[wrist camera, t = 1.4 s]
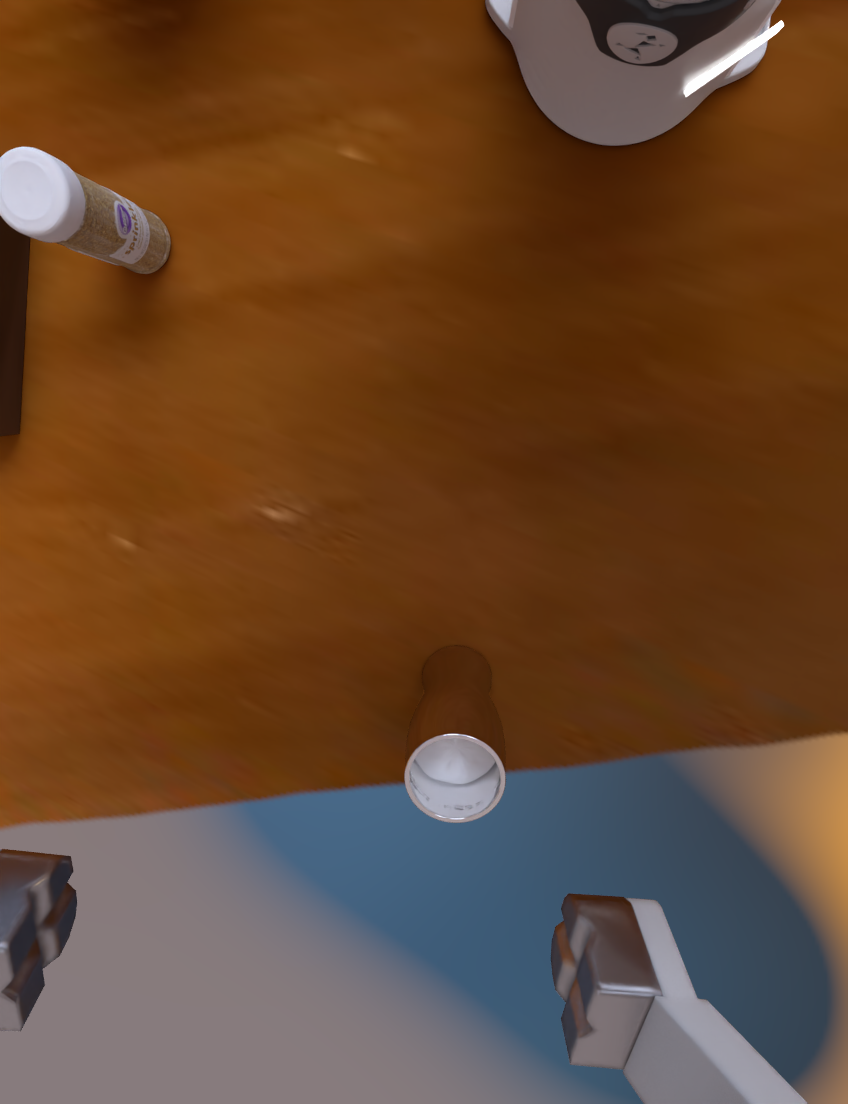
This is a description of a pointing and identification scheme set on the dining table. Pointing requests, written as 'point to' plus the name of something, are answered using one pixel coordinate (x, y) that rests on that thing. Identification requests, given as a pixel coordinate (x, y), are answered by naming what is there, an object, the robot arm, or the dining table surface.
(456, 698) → the beer glass
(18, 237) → the holder
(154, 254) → the sprinkles bottle
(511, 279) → the dining table surface
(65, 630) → the dining table surface
